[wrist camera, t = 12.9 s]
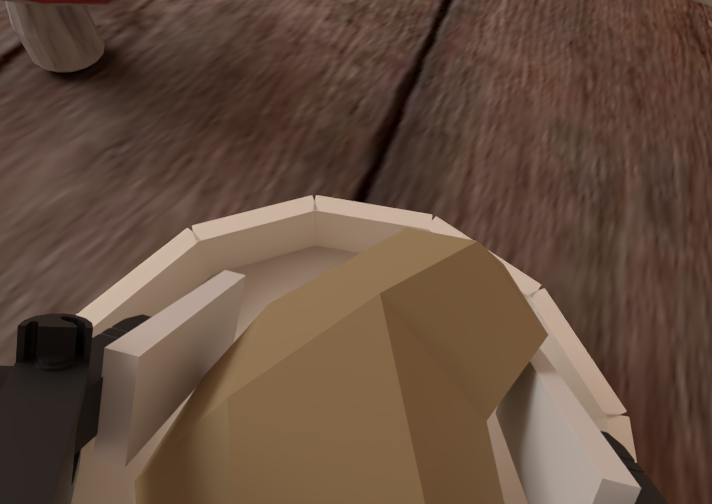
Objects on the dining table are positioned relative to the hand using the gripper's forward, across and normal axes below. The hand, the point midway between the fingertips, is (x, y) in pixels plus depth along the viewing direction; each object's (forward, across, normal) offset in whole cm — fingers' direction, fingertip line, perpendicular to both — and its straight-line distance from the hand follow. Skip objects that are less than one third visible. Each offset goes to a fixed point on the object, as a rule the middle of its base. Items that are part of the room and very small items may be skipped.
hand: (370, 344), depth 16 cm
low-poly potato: (+1, +1, -5) cm, 5 cm away
